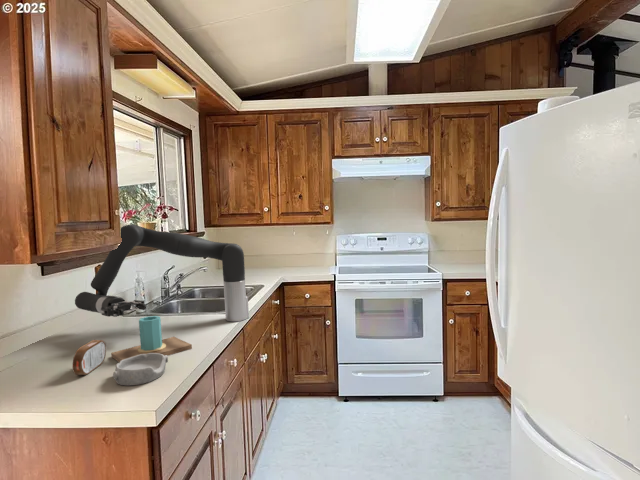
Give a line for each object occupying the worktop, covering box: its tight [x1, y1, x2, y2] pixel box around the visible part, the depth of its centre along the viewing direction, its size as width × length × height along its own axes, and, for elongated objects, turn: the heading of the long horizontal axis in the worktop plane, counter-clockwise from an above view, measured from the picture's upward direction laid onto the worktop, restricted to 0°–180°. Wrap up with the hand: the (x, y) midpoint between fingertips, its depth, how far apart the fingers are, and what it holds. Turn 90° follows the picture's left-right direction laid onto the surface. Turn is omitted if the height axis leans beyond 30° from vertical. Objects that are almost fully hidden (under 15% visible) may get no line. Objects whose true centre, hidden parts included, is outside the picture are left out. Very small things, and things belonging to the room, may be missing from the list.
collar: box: [138, 315, 163, 351], centre depth 141 cm, size 6×6×10 cm
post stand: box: [110, 336, 193, 363], centre depth 141 cm, size 22×14×11 cm, turn 134°
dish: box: [112, 353, 169, 386], centre depth 121 cm, size 14×14×5 cm
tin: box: [72, 339, 107, 376], centre depth 128 cm, size 15×3×8 cm, turn 1°
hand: (134, 309), depth 149 cm, fingers open, 8 cm apart
